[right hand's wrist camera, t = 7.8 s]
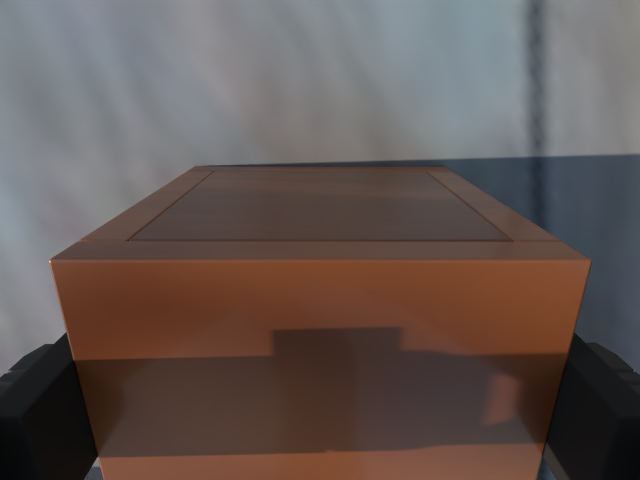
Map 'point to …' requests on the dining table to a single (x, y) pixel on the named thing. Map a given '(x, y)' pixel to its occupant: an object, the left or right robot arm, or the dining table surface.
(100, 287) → the cabinet
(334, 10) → the dining table surface
